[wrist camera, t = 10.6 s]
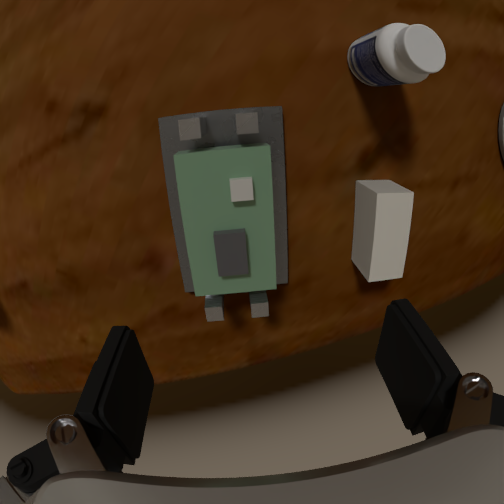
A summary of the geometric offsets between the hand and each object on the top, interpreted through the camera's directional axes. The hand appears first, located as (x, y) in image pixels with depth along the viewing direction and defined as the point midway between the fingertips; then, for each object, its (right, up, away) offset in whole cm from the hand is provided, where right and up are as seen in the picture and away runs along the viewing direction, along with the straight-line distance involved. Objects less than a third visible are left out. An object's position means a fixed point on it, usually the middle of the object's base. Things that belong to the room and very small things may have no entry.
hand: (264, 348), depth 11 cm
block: (+12, +7, +21) cm, 25 cm away
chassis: (-3, +8, +19) cm, 21 cm away
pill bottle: (+11, +22, +13) cm, 28 cm away
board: (-2, +6, +15) cm, 17 cm away
